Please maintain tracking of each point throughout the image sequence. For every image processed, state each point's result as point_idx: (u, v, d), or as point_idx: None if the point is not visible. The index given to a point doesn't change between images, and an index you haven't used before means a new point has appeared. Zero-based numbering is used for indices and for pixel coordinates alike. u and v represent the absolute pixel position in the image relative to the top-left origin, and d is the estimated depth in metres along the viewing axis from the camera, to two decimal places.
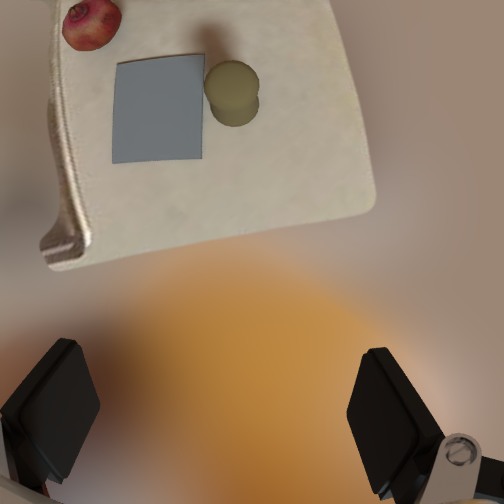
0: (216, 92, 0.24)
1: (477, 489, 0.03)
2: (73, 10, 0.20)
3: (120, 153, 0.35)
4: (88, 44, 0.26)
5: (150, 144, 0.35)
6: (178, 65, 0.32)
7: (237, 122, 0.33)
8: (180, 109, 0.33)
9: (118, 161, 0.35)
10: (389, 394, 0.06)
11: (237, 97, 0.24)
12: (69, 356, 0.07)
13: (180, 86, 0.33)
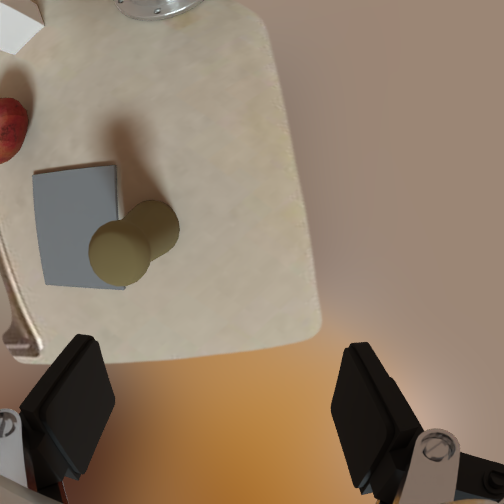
0: (99, 272, 0.21)
1: (455, 486, 0.04)
2: None
3: (50, 275, 0.31)
4: None
5: (74, 270, 0.31)
6: (89, 180, 0.28)
7: None
8: None
9: (50, 283, 0.32)
10: (367, 387, 0.07)
11: (121, 279, 0.21)
12: (87, 352, 0.08)
13: (93, 207, 0.29)
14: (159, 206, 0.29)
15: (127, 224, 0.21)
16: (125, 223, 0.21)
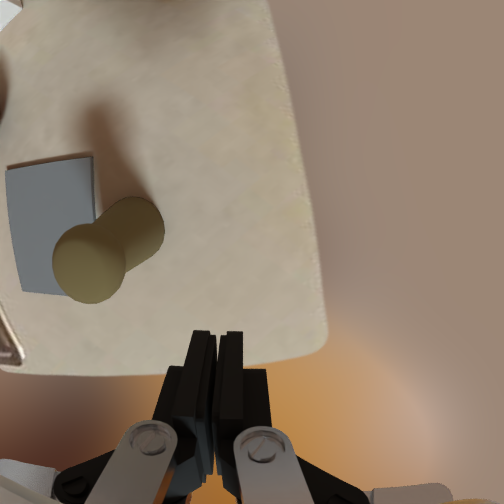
0: (64, 287, 0.16)
1: None
2: None
3: (26, 281, 0.27)
4: None
5: (51, 276, 0.27)
6: (63, 174, 0.24)
7: None
8: None
9: (26, 289, 0.27)
10: (216, 373, 0.07)
11: (89, 296, 0.16)
12: (213, 346, 0.09)
13: (67, 205, 0.25)
14: (140, 204, 0.24)
15: (95, 229, 0.16)
16: (93, 228, 0.16)
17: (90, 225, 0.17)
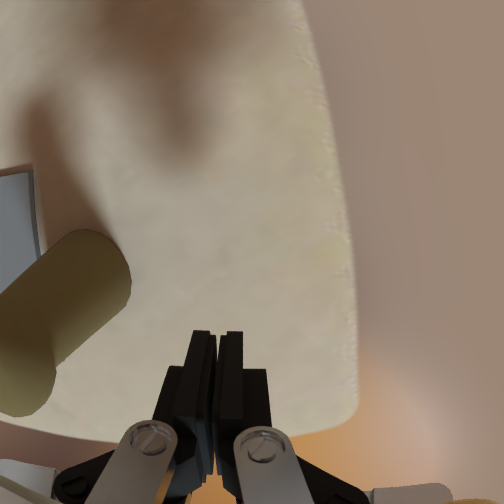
0: None
1: None
2: None
3: None
4: None
5: None
6: None
7: None
8: None
9: None
10: (216, 373, 0.07)
11: (6, 411, 0.07)
12: (214, 347, 0.09)
13: (6, 239, 0.15)
14: (91, 243, 0.15)
15: None
16: None
17: None
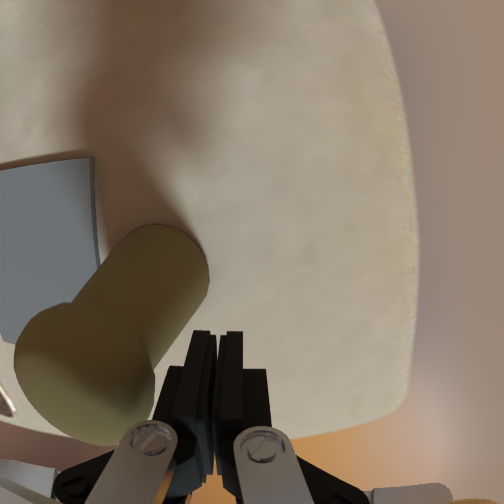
0: (45, 417, 0.07)
1: None
2: None
3: (7, 330, 0.18)
4: None
5: None
6: (48, 184, 0.15)
7: None
8: (64, 280, 0.17)
9: (8, 340, 0.18)
10: (216, 373, 0.07)
11: (93, 442, 0.07)
12: (214, 347, 0.09)
13: (55, 232, 0.16)
14: (171, 240, 0.15)
15: (86, 329, 0.07)
16: (81, 325, 0.07)
17: (76, 315, 0.07)
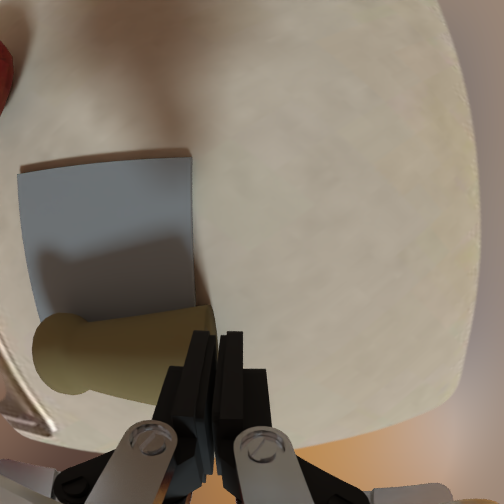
0: None
1: None
2: None
3: None
4: None
5: None
6: (132, 185, 0.15)
7: None
8: (148, 292, 0.17)
9: None
10: (216, 373, 0.07)
11: None
12: (214, 347, 0.09)
13: (140, 240, 0.16)
14: None
15: (45, 378, 0.13)
16: (44, 375, 0.13)
17: (46, 370, 0.12)
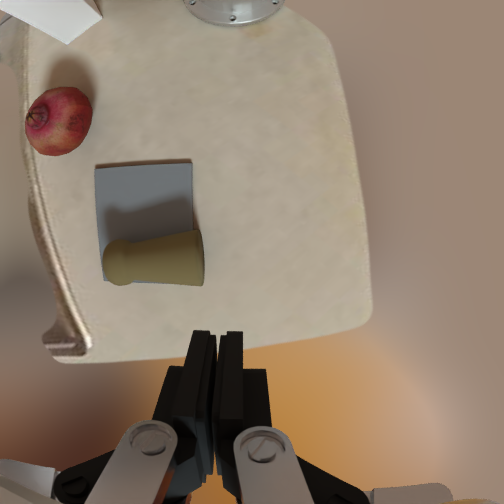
0: None
1: None
2: (30, 119, 0.20)
3: None
4: (57, 152, 0.26)
5: None
6: (163, 176, 0.32)
7: None
8: (168, 230, 0.33)
9: None
10: (216, 373, 0.07)
11: None
12: (214, 347, 0.09)
13: (166, 203, 0.32)
14: (182, 265, 0.29)
15: (109, 267, 0.29)
16: (109, 265, 0.29)
17: (111, 262, 0.29)
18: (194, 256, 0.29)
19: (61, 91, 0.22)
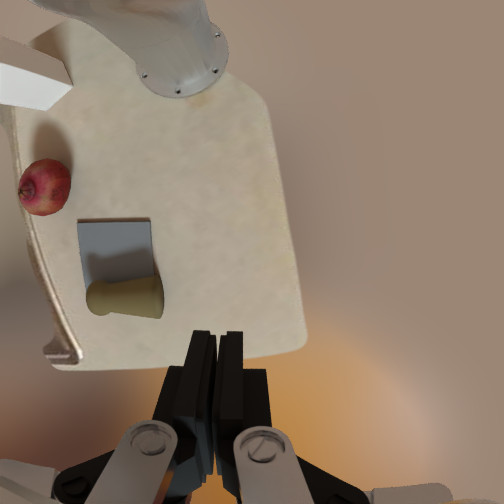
0: None
1: None
2: (22, 195, 0.28)
3: None
4: (46, 214, 0.34)
5: None
6: (128, 231, 0.39)
7: None
8: (135, 273, 0.41)
9: None
10: (216, 373, 0.07)
11: None
12: (214, 347, 0.09)
13: (132, 252, 0.40)
14: (143, 305, 0.37)
15: (91, 303, 0.37)
16: (90, 302, 0.37)
17: (92, 299, 0.37)
18: (150, 298, 0.37)
19: (43, 167, 0.30)
